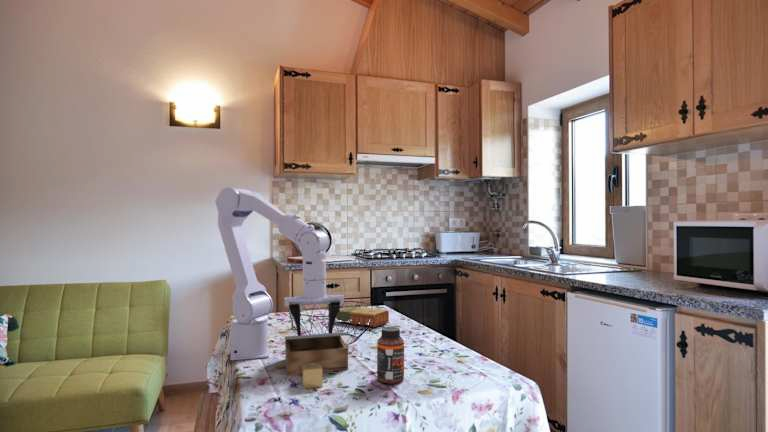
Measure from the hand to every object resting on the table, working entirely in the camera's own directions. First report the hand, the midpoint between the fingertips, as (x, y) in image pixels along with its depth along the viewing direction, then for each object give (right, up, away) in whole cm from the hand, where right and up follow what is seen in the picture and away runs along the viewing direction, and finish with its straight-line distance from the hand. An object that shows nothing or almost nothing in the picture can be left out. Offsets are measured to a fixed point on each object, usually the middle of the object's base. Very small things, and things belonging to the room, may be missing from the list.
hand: (314, 333), depth 112 cm
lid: (0, 0, -2) cm, 2 cm away
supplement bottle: (+19, -7, -13) cm, 24 cm away
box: (0, -7, -2) cm, 7 cm away
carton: (+15, -9, +36) cm, 41 cm away
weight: (+2, -7, -15) cm, 16 cm away
